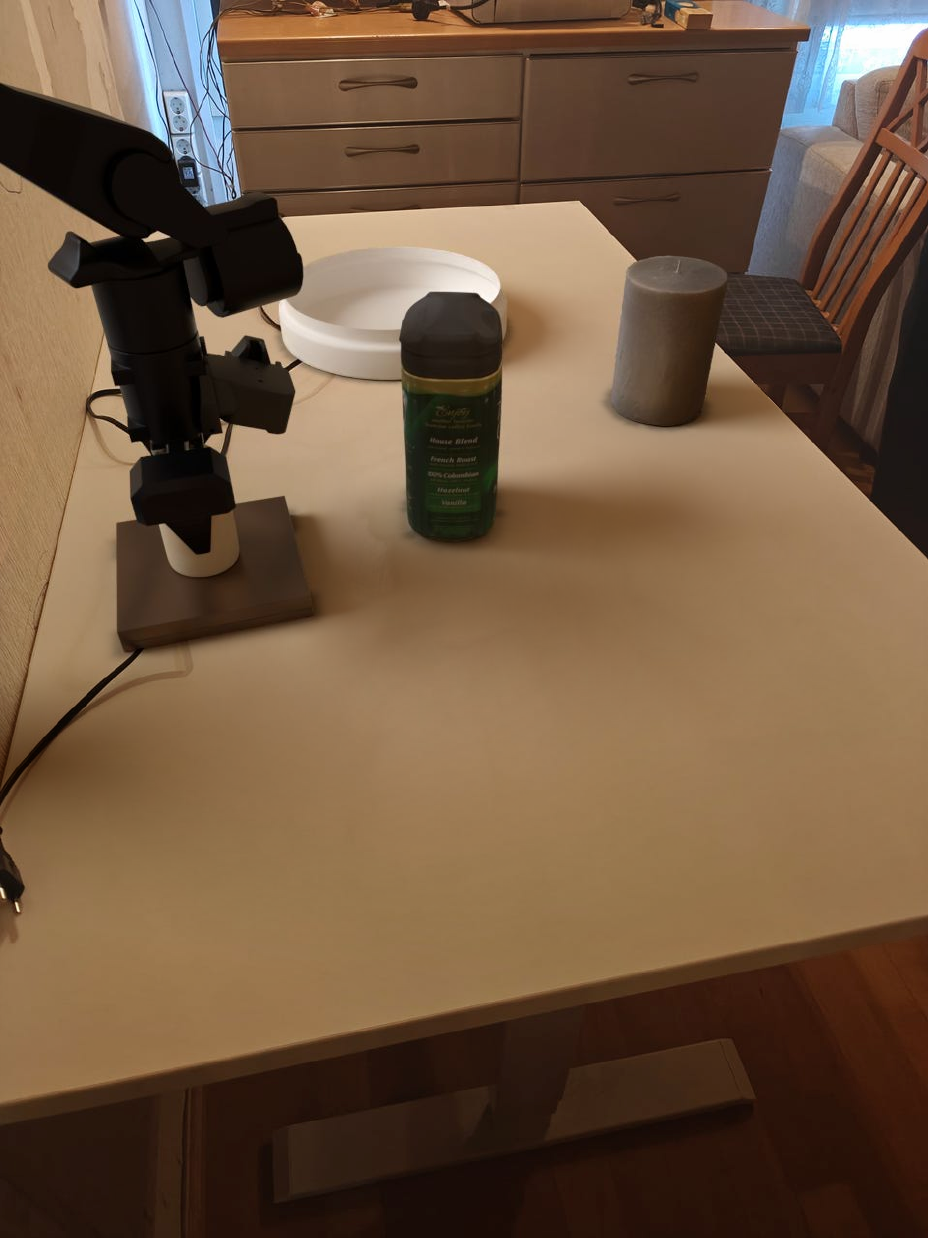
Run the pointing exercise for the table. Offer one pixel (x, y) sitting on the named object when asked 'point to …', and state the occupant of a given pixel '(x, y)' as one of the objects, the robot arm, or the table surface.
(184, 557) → the candle
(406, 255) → the round white dish
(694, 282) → the pillar candle
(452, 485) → the coffee jar
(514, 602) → the table surface
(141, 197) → the robot arm
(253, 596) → the dark wooden base block
